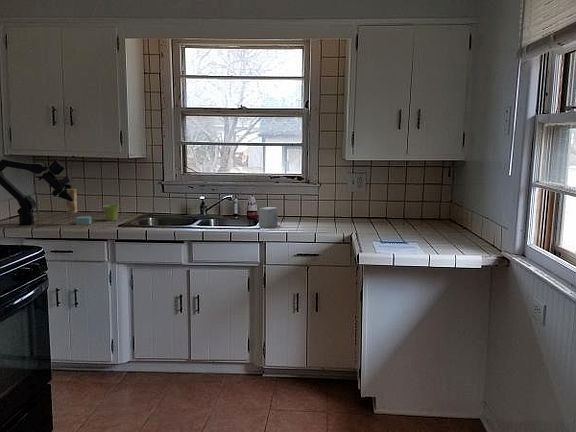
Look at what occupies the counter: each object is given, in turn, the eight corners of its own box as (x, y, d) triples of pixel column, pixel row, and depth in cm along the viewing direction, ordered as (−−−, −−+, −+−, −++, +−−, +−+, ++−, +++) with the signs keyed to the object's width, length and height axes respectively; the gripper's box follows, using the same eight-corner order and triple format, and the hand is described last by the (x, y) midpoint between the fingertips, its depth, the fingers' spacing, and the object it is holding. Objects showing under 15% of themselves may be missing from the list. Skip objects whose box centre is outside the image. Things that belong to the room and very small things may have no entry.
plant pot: (109, 222, 310) (108, 207, 309) (100, 220, 316) (99, 206, 314) (123, 220, 317) (122, 205, 316) (113, 218, 323) (113, 204, 322)
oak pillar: (66, 212, 298) (65, 189, 296) (69, 211, 302) (68, 188, 300) (74, 212, 298) (73, 189, 296) (77, 211, 303) (76, 188, 301)
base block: (76, 225, 299) (75, 218, 298) (79, 223, 305) (78, 216, 305) (89, 225, 300) (88, 218, 299) (91, 223, 307) (91, 216, 306)
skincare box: (268, 227, 296) (268, 209, 294) (258, 226, 299) (258, 208, 298) (278, 225, 305) (278, 207, 303) (268, 224, 308) (268, 206, 306)
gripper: (57, 171, 287) (78, 192, 290) (68, 169, 306) (88, 189, 308) (42, 186, 288) (64, 206, 290) (54, 183, 306) (75, 202, 309)
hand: (73, 200), depth 299 cm, fingers closed on oak pillar, 4 cm apart
